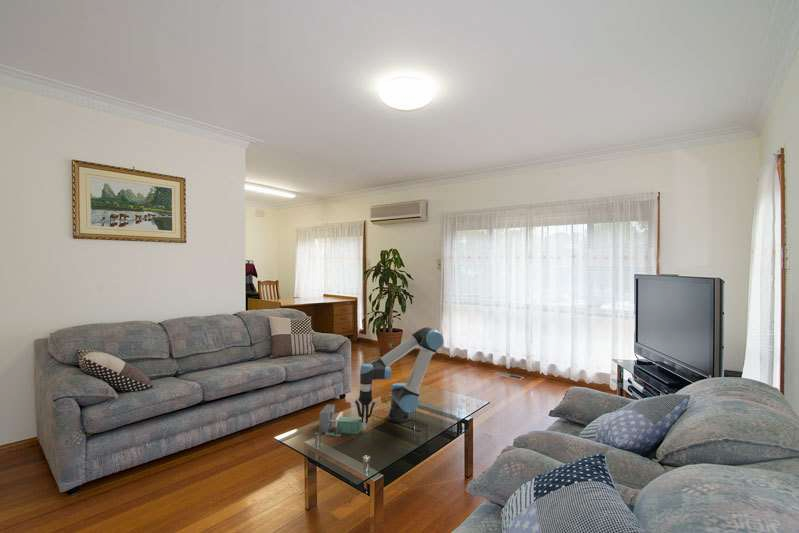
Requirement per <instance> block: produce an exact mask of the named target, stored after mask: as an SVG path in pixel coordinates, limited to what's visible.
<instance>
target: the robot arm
mask: <svg viewBox="0 0 799 533" xmlns="http://www.w3.org/2000/svg"><path fill="white" fill-rule="evenodd" d="M443 344H444V337H443V334H442V333H441V332H440V331H438V330H437V329H433V328H430V327H423V328H420V329H417V330H416V331H415V332H414V333H412V334H410V336H409V338H407V339H406V340H404V341H403V342H402V343H400V344H398V345H397V346H396V347H394V348H393V349H392V350H390V351H389V352H387V353H385V354H383V356H381V357H380V358H378V359H374V360H372V361H370V363H362V364H361V365H360V369H359V371H360V372H359V375H360V376H359V377H360V378H359V397H358V398H357V399H355V401H354V403H355V405H356V410H357V415H358V418H361V419H362V429H363V430H366V428H367V424H368V423H369V418H372V413H373V409H374V407H375V405H376V402H377V401H376V400H374V399H373V395H372V394H373V390H372V389H373V381H376V380H387V379H388V380H389V379H391V377H392V368H391V366H392V364H394V363H395V362H397V361H398V360H400V359H401V358H403V357H404V356H406V355H407V354H408V353H410V352H411V351H413V350H414V349H416V348H420V350H419V352H418V355H417V357H416V359H415V362H414V364H413V367H412V370H411V372H410V375H409V376H408V379H407V382H396V383H395V382H394V383H393V384H392V385H391V388H390V390H391V391H390V407H389V411H388V412H387V419H388V420H389V421H391V422H393V423H399V424H400V423H406V422H408V420H409V419H410V420H411V413H413V412H415V411H416V410H417V409H418V407H419V404H420V399H419V396H420V393H421V392H420V388H421V385H422V382H423V381H424V380H423V379H424V378H425V375H426V373H427V369H428V367H429V365H430V362H431V359H432V358H433V355H435V354H436V353H437V351H438V350H439V349H441V347H442V346H443ZM360 404H361V405H360ZM370 405H371V406H370ZM369 406H370V409H369ZM410 420H409V421H410Z"/></svg>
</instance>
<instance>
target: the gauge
mask: <svg viewBox="0 0 799 533" xmlns="http://www.w3.org/2000/svg"><path fill="white" fill-rule="evenodd" d="M330 420H335V404H327V403H326V405H325V406H323V409H322V410H320V411H319V420H318V421H319V422H318V423H319V425H318V433H319V432H322V433H321V434H324V435H325V436H329V437H330V436H332V437H341V436H342V433H338V432H337V433H335V434H334V432H329V431H330V430H331V428H332V427H333V426H334V425H335V423H330Z"/></svg>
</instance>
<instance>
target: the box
mask: <svg viewBox="0 0 799 533" xmlns="http://www.w3.org/2000/svg"><path fill="white" fill-rule="evenodd" d="M362 428H363V423H362V418H361V417H349V416H348V417H347V416H343V417H341V418H340V419H339V420H338V432H337V433H340V434H347V435H348V434H350V435H358V436H359V434H360V432H361V430H362Z"/></svg>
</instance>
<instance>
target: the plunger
mask: <svg viewBox="0 0 799 533" xmlns="http://www.w3.org/2000/svg"><path fill="white" fill-rule="evenodd" d="M343 415H344V411H340V412H339V413H338V415H337V417H336V418H334V420H330V423H334V425H335V426H334V429H333V433H334V434H335V433H338V420H339V419H340V418H341V417H344V416H343Z"/></svg>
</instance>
